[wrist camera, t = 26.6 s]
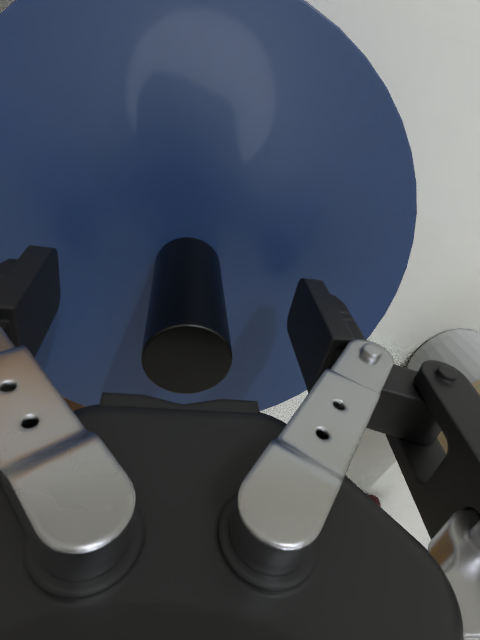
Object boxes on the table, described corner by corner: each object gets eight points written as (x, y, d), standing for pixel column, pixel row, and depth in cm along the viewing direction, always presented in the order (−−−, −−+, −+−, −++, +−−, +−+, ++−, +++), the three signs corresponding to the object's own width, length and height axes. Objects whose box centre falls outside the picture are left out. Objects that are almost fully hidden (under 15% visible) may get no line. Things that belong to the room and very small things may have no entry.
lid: (-19, 396, 19) (-101, 537, 14) (-134, -125, 10) (-550, -340, 4) (326, 416, 22) (369, 535, 17) (491, 43, 13) (708, 44, 8)
